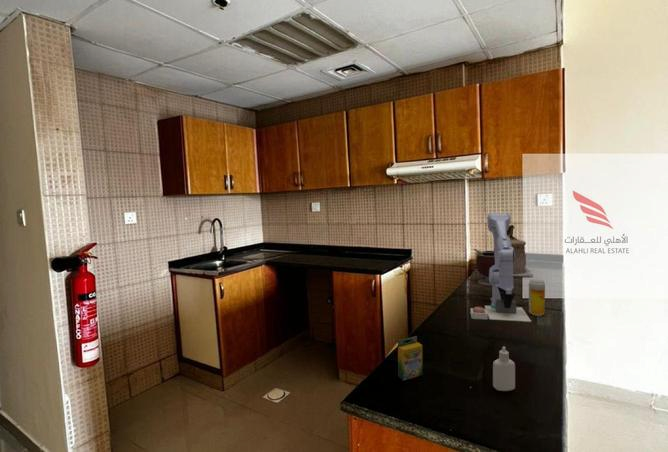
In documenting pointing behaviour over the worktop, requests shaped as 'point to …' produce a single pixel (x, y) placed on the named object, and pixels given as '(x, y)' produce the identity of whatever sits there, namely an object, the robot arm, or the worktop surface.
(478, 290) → the worktop surface
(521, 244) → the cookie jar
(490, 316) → the white flat slab
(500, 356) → the eye dropper bottle
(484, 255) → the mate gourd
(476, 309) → the button
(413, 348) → the crayon box
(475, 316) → the button housing
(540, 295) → the beer glass
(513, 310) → the grey block
